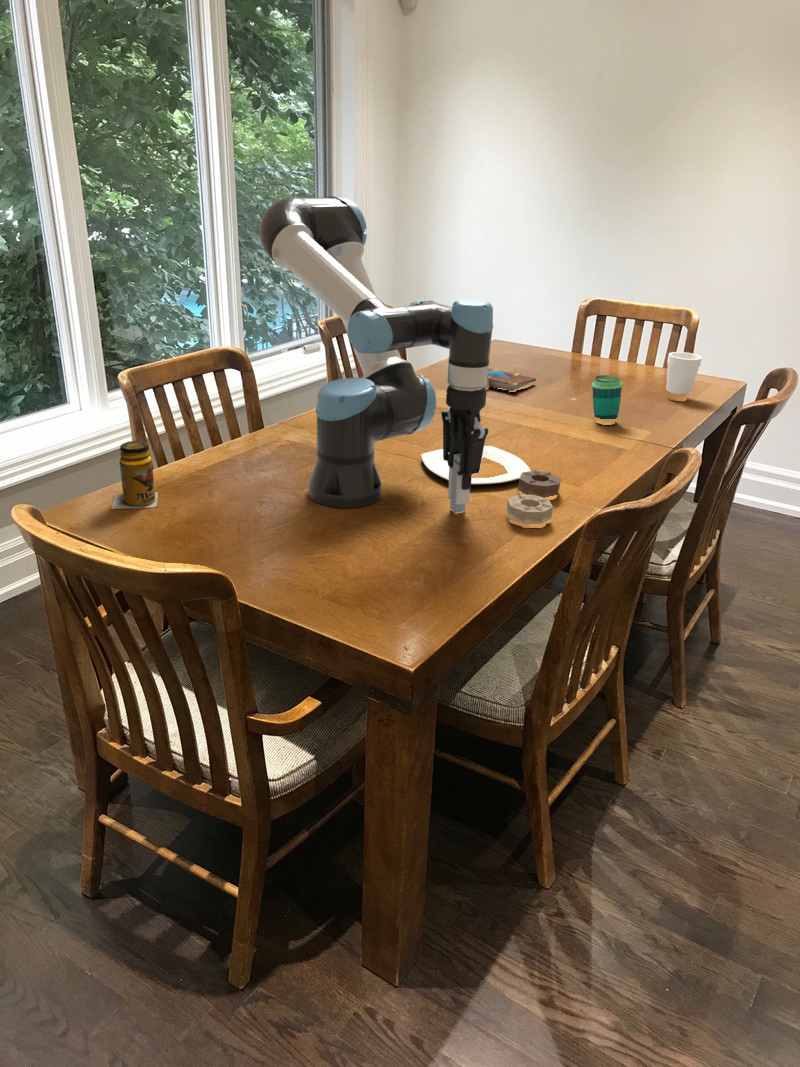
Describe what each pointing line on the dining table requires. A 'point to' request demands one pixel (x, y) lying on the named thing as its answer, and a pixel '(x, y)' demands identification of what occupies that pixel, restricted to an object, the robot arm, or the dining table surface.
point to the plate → (506, 459)
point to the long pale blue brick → (456, 468)
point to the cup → (606, 396)
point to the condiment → (136, 477)
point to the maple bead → (529, 509)
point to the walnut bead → (539, 483)
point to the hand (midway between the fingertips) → (458, 500)
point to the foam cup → (682, 371)
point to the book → (507, 380)
